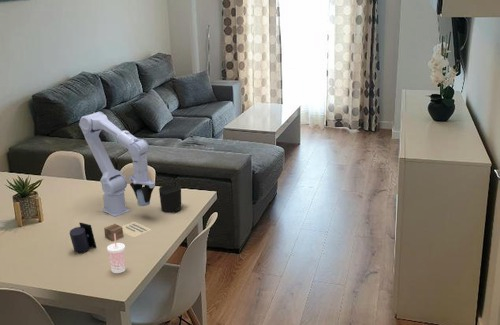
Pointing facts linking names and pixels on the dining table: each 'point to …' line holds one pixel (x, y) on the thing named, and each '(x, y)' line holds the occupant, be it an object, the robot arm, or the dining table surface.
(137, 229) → the letter
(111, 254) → the beverage cup
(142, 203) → the slate cylinder
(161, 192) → the pen holder
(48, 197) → the dining table surface
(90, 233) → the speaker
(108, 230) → the walnut block
